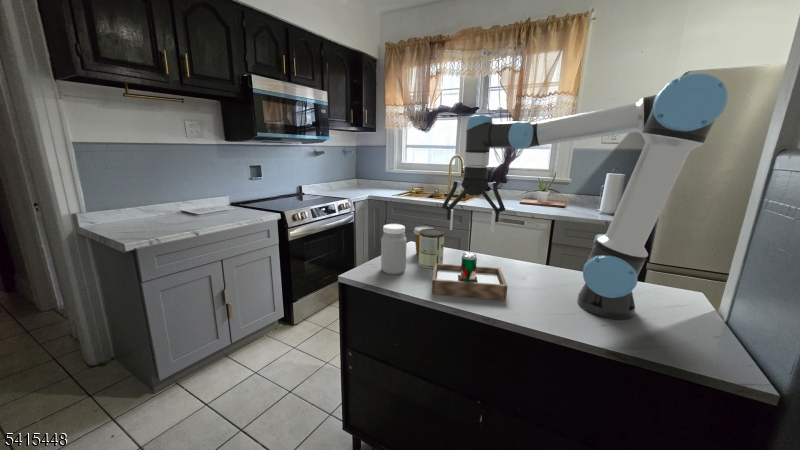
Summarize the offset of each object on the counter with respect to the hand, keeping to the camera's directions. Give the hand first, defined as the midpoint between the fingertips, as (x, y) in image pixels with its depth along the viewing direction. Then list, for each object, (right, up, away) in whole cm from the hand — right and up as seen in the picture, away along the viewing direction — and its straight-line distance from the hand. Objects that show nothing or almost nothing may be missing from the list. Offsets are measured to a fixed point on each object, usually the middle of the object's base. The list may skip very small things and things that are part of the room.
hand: (471, 230), depth 109 cm
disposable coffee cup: (-13, -12, +38) cm, 42 cm away
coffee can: (-11, -15, +26) cm, 32 cm away
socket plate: (0, -20, +5) cm, 21 cm away
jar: (-27, -16, +19) cm, 36 cm away
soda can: (0, -20, +5) cm, 21 cm away
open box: (0, -20, +5) cm, 21 cm away
